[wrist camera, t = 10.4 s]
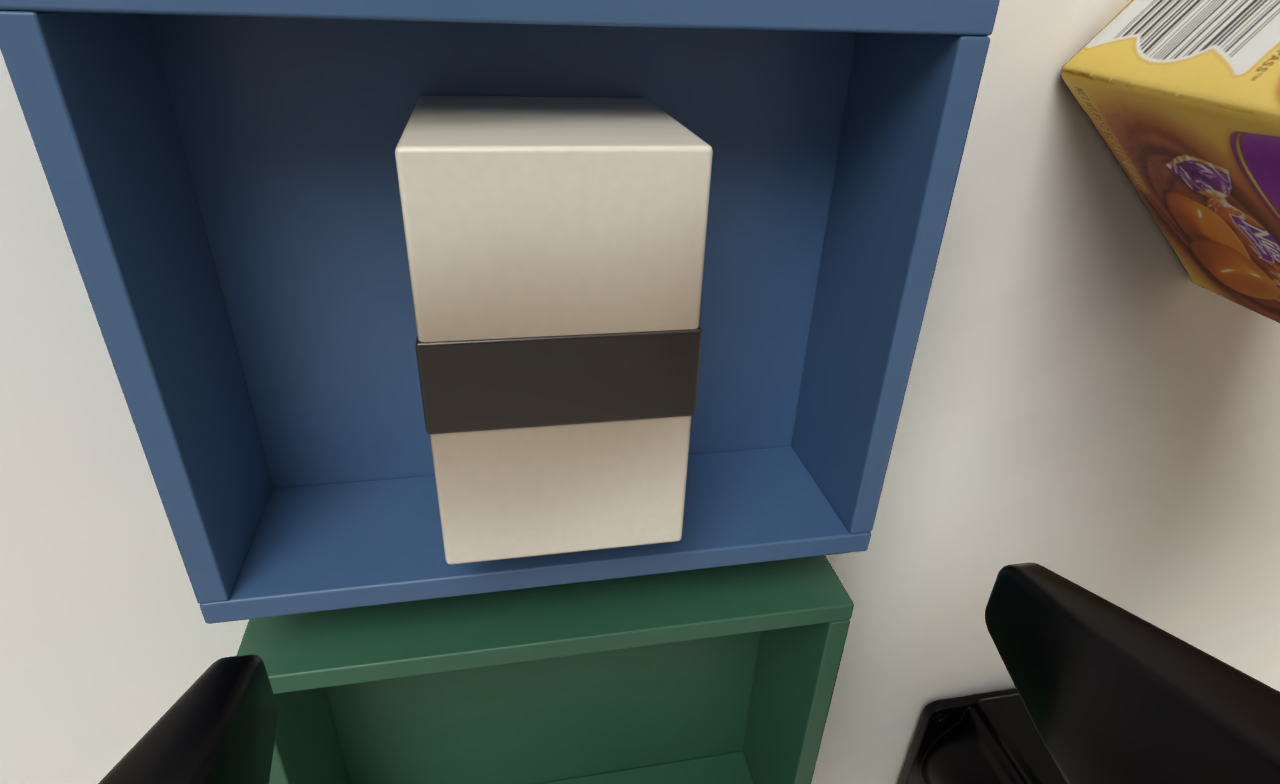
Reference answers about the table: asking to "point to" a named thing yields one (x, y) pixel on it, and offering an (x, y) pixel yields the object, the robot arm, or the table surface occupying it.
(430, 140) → the parcel
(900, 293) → the blue tote
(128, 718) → the table surface
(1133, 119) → the candy box
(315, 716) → the green tote
